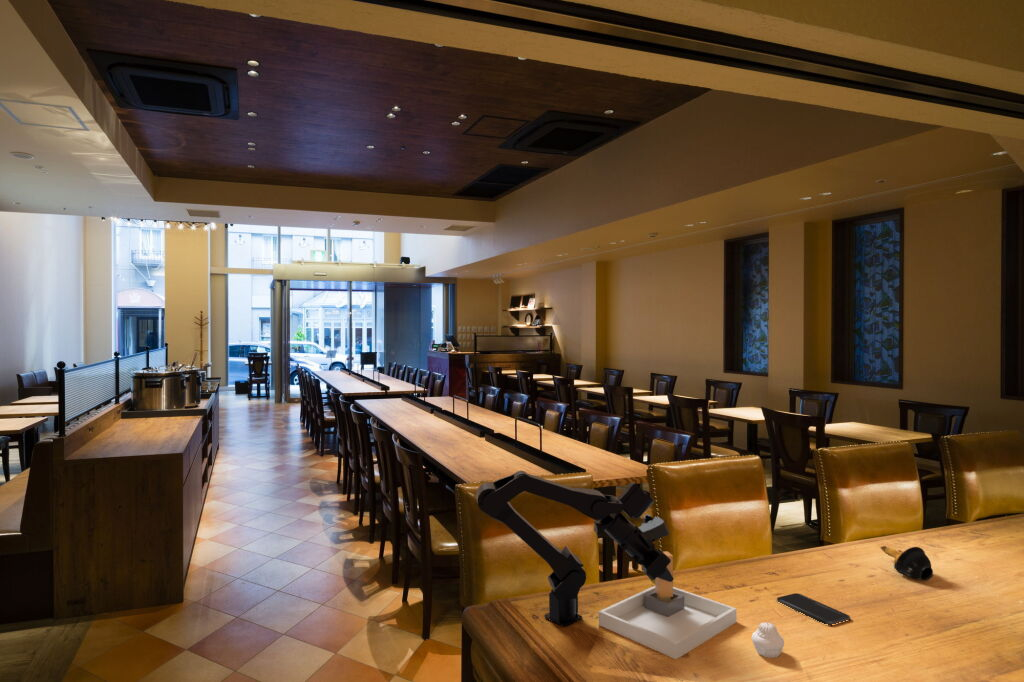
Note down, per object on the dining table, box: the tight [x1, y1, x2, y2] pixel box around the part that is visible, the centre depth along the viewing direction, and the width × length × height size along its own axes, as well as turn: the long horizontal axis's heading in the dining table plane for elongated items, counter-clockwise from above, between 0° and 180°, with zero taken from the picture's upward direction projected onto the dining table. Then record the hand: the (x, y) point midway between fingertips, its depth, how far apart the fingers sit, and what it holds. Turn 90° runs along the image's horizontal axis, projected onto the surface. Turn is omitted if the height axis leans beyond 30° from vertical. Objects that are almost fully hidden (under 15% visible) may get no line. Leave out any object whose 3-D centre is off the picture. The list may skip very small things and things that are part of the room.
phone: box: [776, 593, 851, 625], centre depth 144 cm, size 8×1×15 cm
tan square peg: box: [654, 551, 674, 602], centre depth 143 cm, size 3×3×12 cm
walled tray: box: [598, 585, 738, 660], centre depth 135 cm, size 24×20×4 cm
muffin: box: [751, 622, 785, 659], centre depth 122 cm, size 6×6×7 cm
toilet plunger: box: [879, 545, 934, 582], centre depth 167 cm, size 9×11×18 cm
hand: (669, 577), depth 143 cm, fingers closed on tan square peg, 3 cm apart
